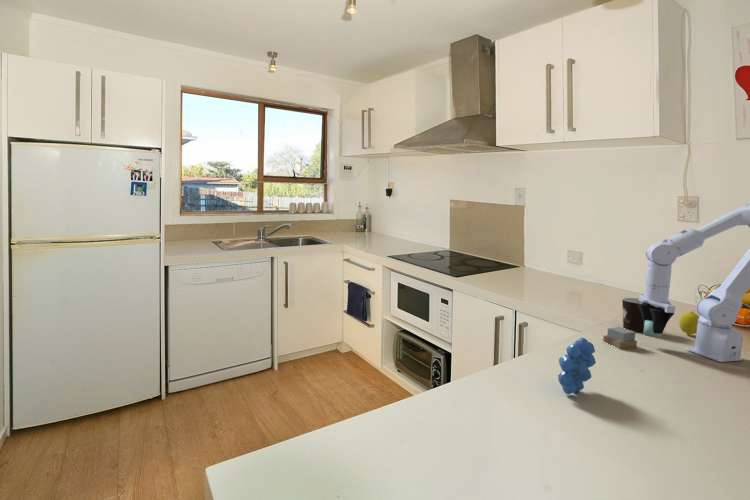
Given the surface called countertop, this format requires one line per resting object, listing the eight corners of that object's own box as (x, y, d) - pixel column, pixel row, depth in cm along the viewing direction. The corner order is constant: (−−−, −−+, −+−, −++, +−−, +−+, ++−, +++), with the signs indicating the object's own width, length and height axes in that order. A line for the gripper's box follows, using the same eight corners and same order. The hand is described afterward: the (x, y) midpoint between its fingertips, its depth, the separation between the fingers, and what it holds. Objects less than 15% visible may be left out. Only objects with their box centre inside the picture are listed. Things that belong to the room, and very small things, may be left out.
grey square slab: (634, 340, 117) (635, 332, 117) (623, 341, 116) (623, 333, 115) (618, 334, 122) (619, 326, 122) (607, 336, 120) (608, 328, 120)
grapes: (571, 378, 94) (575, 329, 93) (600, 390, 89) (605, 337, 87) (541, 390, 88) (545, 337, 87) (570, 403, 82) (575, 347, 81)
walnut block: (636, 349, 117) (636, 341, 117) (619, 350, 116) (620, 342, 115) (619, 342, 123) (620, 334, 122) (602, 343, 121) (603, 335, 121)
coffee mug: (649, 335, 129) (652, 305, 128) (618, 329, 134) (620, 300, 133) (650, 327, 138) (654, 299, 137) (621, 322, 143) (624, 295, 142)
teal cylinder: (665, 337, 116) (666, 324, 115) (653, 338, 115) (654, 324, 114) (651, 332, 120) (653, 319, 120) (639, 333, 119) (641, 320, 119)
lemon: (691, 333, 133) (694, 309, 132) (703, 338, 127) (706, 314, 126) (674, 332, 133) (676, 308, 132) (685, 337, 128) (688, 313, 127)
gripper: (630, 279, 123) (625, 322, 125) (657, 289, 109) (652, 337, 111) (654, 280, 123) (650, 323, 124) (685, 290, 108) (679, 339, 110)
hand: (652, 330), depth 117 cm, fingers closed on teal cylinder, 4 cm apart
